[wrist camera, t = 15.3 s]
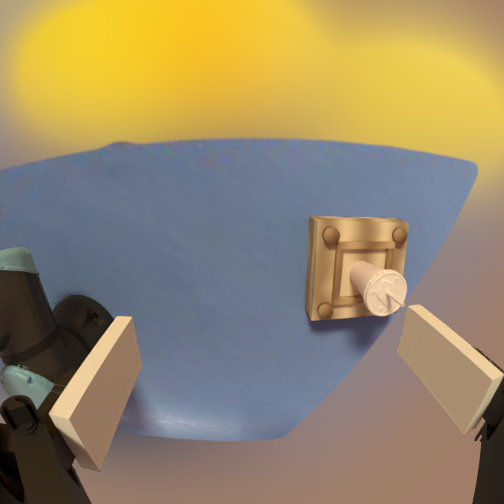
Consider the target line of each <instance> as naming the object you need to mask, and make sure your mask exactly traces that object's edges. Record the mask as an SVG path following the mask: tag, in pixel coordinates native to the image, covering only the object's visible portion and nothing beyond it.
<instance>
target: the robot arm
mask: <svg viewBox="0 0 504 504" xmlns="http://www.w3.org/2000/svg"><path fill="white" fill-rule="evenodd" d="M398 354H399V355H400V356H401V357H402V358H403V360H404V361H405V362H406V363H407V364H408V365H409V367H410V368H411V369H412V370H413V372H414V373H415V374H416V375H417V376H418V378H419V379H420V380H421V381H422V382H423V384H424V385H425V386H426V387H427V389H428V390H429V391H430V392H431V393H432V395H433V396H434V397H435V398H436V400H437V401H438V402H439V403H440V405H441V406H442V407H443V408H444V410H445V411H446V412H447V414H448V415H449V416H450V417H451V419H452V420H453V421H454V422H455V424H456V425H457V426H458V428H459V429H460V430H461V432H462V433H463V434H464V433H466V432H468V431H470V430H472V429H474V428H476V426H477V425H478V423H479V421H480V420H481V418H482V417H483V418H484V419H485V423H484V425H483V426H482V428H481V429H480V431H479V433H478V434H477V436H476V437H475V441H477V439H478V438H479V436H480V435H482V438H481V439H480V442H481V453H480V462H479V469H478V476H477V482H476V488H475V493H474V498H473V503H472V504H504V371H503V370H502V369H501V368H500V367H498V366H497V365H496V364H495V363H494V362H493V361H490V359H489V358H488V357H487V356H485V355H484V354H483V353H482V352H481V351H480V350H479V349H477V348H475V347H473V346H471V345H469V344H468V343H467V342H466V341H465V340H463V339H462V338H461V337H460V336H459V335H457V334H456V333H455V332H454V331H452V330H451V329H450V328H449V327H447V326H446V325H445V324H444V323H442V322H441V321H440V320H439V319H437V318H436V317H435V316H434V315H432V314H431V313H430V312H429V311H427V310H426V309H425V308H423V307H422V306H421V305H413V306H408V309H407V314H406V319H405V323H404V328H403V332H402V337H401V340H400V344H399V348H398ZM0 357H1V359H2V361H3V363H4V365H5V367H3V368H2V370H1V373H0V379H1V384H2V387H3V389H4V390H5V392H6V393H7V395H8V396H9V398H8V399H7V400H5V401H4V402H3V404H2V405H1V407H0V414H1V416H2V417H3V419H4V420H5V422H6V424H2V423H0V504H92V503H91V502H90V500H89V498H88V496H87V494H86V492H85V490H84V488H83V486H82V484H81V482H80V480H79V477H78V476H77V473H76V471H75V469H74V468H73V466H72V463H73V461H74V459H75V458H76V460H77V461H78V463H79V464H80V465H81V467H84V468H88V469H91V470H95V471H99V472H101V469H102V466H103V464H104V461H105V458H106V455H107V453H108V450H109V447H110V445H111V442H112V439H113V437H114V434H115V432H116V429H117V427H118V424H119V422H120V419H121V416H122V414H123V412H124V409H125V407H126V404H127V402H128V399H129V397H130V394H131V392H132V390H133V387H134V385H135V383H136V380H137V378H138V376H139V373H140V371H141V369H142V361H141V357H140V352H139V348H138V343H137V338H136V333H135V328H134V323H133V317H125V316H117V317H116V319H115V320H113V318H112V317H111V315H110V314H109V313H108V311H107V310H106V309H105V308H104V307H103V306H101V305H100V304H99V303H98V302H96V301H95V300H93V299H91V298H88V297H86V296H82V295H72V296H68V297H66V298H65V299H63V300H62V301H61V302H60V303H58V304H57V305H56V307H55V308H54V310H53V312H52V310H51V308H50V305H49V303H48V300H47V297H46V295H45V292H44V289H43V286H42V284H41V281H40V278H39V272H38V271H37V270H36V267H35V264H34V261H33V258H32V255H31V253H30V252H29V250H27V249H26V248H24V247H15V248H10V249H5V250H0Z"/></svg>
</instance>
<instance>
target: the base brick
mask: <svg viewBox="0 0 504 504" xmlns="http://www.w3.org/2000/svg"><path fill="white" fill-rule="evenodd" d="M408 225H409V223H408V222H405V221H402V220H398V219H395V218H372V217H320V216H309V237H308V260H307V279H306V295H305V309H306V311H307V313H308V315H309V317H310V319H311V321H314V320H328V319H341V318H352V317H363V316H372V315H374V314H372V313H371V312H370V311H369V310H368V309H367V308H366V306H365V304H364V299H363V297H362V296H361V294H360V292H359V291H358V289H357V288H356V286H355V285H354V283H353V282H352V280H351V278H350V275H349V272H350V269H351V267H352V265H353V264H354V263H356V262H358V261H365V262H367V263H370V264H373V265H375V266H378V267H381V268H383V269H386V270H389V269H390V270H395V271H396V272H398V273H399V274H400V275H402V276H403V270H404V262H405V254H406V246H407V237H408ZM396 311H397V310H396ZM396 311H395V312H394V313H396Z"/></svg>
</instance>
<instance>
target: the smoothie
mask: <svg viewBox="0 0 504 504" xmlns="http://www.w3.org/2000/svg"><path fill="white" fill-rule="evenodd" d="M349 275H350V278H351V280H352V282H353V283H354V285H355V286H356V288H357V289H358V291H359V292H360V294H361V296H362V297H363V299H364V304H365V306H366V308H367V309H368V310H369V311H370V312H371V313H372V314H374V315H376V316H388V315H390V314H392V313H394V312H395V311H396V310H398V309H399V307H400V306H401V307H404V306H405V303H404V300H405V297H406V294H407V284H406V281H405V279H404V277H403V276H402V275H400V274H399V273H398V272H396V271H395V270H390V269H389V270H386V269H383V268H381V267H378V266H375V265H373V264H370V263H367V262H365V261H358V262H356V263H354V264H353V265H352V267H351V269H350V272H349Z"/></svg>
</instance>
